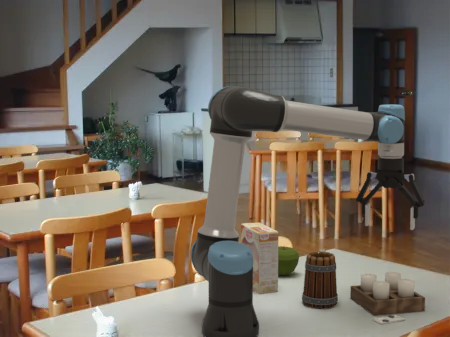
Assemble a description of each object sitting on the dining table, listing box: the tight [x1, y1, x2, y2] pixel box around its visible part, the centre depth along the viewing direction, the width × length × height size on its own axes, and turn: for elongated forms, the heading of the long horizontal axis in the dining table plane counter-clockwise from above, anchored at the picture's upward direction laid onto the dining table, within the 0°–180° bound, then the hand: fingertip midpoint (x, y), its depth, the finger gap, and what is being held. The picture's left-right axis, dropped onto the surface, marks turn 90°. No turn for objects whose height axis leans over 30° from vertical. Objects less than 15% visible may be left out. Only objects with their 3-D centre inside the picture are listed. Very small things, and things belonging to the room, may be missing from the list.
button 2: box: [373, 280, 389, 301], centre depth 213 cm, size 5×5×5 cm
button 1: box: [360, 273, 378, 292], centre depth 220 cm, size 5×5×5 cm
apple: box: [278, 245, 300, 277], centre depth 250 cm, size 11×10×10 cm
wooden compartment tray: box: [349, 284, 426, 317], centre depth 218 cm, size 16×16×4 cm
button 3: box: [384, 271, 402, 290], centre depth 223 cm, size 5×5×5 cm
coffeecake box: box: [240, 221, 280, 295], centre depth 235 cm, size 15×7×20 cm, turn 21°
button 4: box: [398, 278, 415, 298], centre depth 215 cm, size 5×5×5 cm
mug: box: [301, 248, 339, 310], centre depth 221 cm, size 16×11×15 cm
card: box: [371, 314, 406, 326], centre depth 205 cm, size 8×4×1 cm, turn 115°
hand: (389, 227), depth 221 cm, fingers open, 13 cm apart
